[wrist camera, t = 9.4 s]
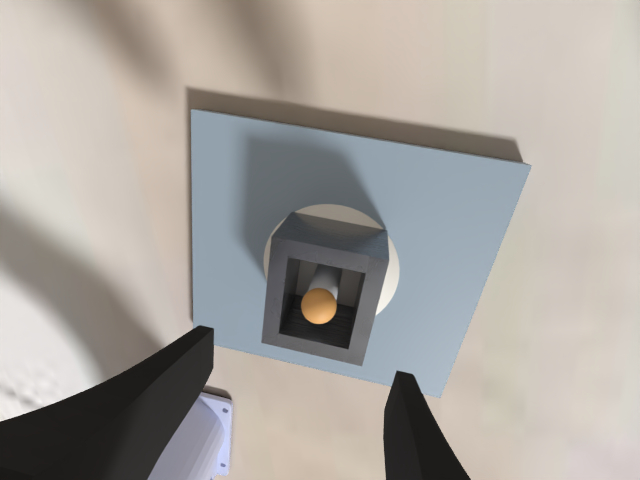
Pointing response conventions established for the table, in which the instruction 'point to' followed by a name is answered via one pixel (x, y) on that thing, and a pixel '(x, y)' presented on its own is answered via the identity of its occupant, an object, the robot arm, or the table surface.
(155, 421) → the robot arm
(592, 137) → the table surface
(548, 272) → the table surface
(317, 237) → the hollow square tube
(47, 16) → the table surface
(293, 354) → the board
